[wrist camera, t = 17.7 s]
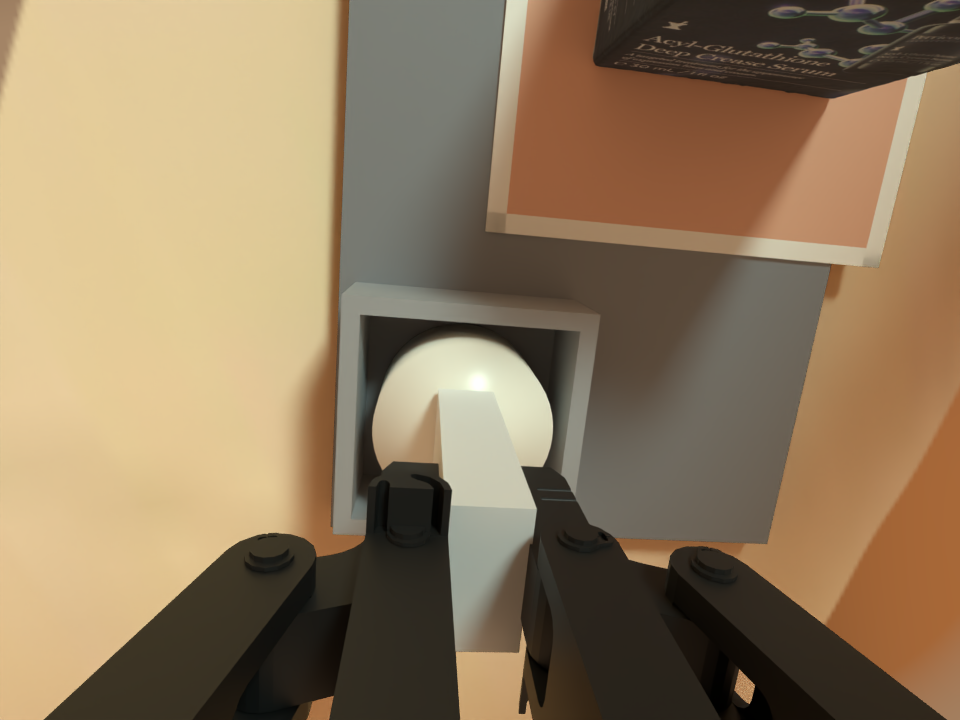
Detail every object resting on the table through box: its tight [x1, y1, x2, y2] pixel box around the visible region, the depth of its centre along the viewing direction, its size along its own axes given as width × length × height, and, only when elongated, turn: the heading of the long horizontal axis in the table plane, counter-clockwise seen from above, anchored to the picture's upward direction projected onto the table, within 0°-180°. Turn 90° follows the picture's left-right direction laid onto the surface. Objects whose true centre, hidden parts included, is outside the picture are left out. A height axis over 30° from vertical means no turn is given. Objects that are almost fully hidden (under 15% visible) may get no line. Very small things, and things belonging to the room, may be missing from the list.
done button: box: [372, 324, 553, 470], centre depth 17 cm, size 5×5×3 cm
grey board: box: [331, 0, 927, 544], centre depth 17 cm, size 18×26×4 cm
